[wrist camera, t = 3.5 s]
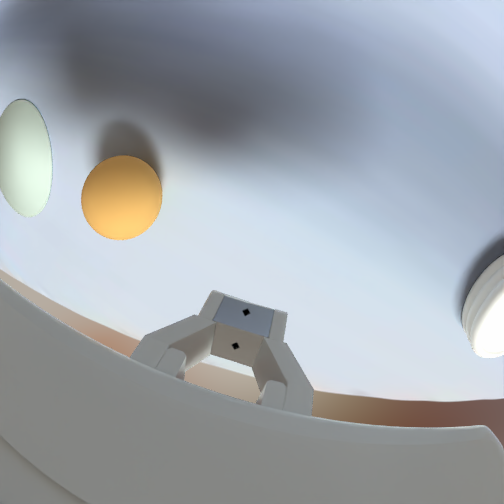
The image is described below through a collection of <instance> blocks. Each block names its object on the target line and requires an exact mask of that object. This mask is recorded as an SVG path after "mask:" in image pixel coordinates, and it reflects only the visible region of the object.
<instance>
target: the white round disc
mask: <svg viewBox="0 0 504 504" xmlns="http://www.w3.org/2000/svg"><path fill="white" fill-rule="evenodd" d="M462 324H463V329H464V332H465V333H466V335H467V338H468V340H469V342H470V343H471V346H472V349H473V351H474V352H475V353H476V354H477V355H478V356H481V357H484V358H493V357H498V356H501V355H504V255H502V256H500V257H499V258H497V259H496V260H495V261H494V262H492V263H491V264H490V265H489V266H488V267H487V268H486V269H485V270H484V271H483V273H482V274H481V275H480V276H479V278H478V279H477V280H476V282H475V283H474V285H473V287H472V288H471V290H470V292H469V294H468V296H467V298H466V301H465V304H464V307H463V312H462Z"/></svg>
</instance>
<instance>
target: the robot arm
mask: <svg viewBox="0 0 504 504" xmlns="http://www.w3.org/2000/svg"><path fill="white" fill-rule="evenodd" d="M287 315H288V314H287V312H283V311H280V310H276V309H275V310H274V309H271V308H268V307H264V306H261V305H258V304H254V303H251V302H248V301H245V300H242V299H239V298H236V297H233V296H230V295H227V294H224V293H221V292H218V291H215V290H213V291H212V292H211V293H210V295H209V297H208V299H207V300H206V302H205V304H204V306H203V308H202V310H201V311H200V313H199V315H198V316H197V315H192V316H190V317H188V318H185V319H183V320H181V321H178V322H176V323H174V324H171V325H169V326H166V327H164V328H162V329H159V330H157V331H154V332H152V333H150V334H147V335H145V336H144V337H143V339H142V340H141V342H140V343H139V345H138V346H137V348H136V349H135V351H134V352H133V353H132V355H131V357H130V358H129V357H127V356H125V355H123V354H121V353H119V352H117V351H114V350H113V349H111V348H109V347H107V346H105V345H103V344H101V343H99V342H97V341H95V340H93V339H92V338H90V337H88V336H86V335H84V334H82V333H81V332H79V331H77V330H75V329H74V328H72V327H70V326H68V325H67V324H65V323H64V322H62V321H60V320H59V319H57V318H55V317H54V316H52V315H51V314H49V313H47V312H46V311H44V310H43V309H41V308H40V307H38V306H37V305H35V304H34V303H32V302H31V301H29V300H28V299H27V298H25V297H24V296H22V295H21V294H20V293H18V292H17V291H15V290H14V289H13V288H12V287H10V286H9V285H8V284H6V283H5V282H4V281H2V280H1V279H0V504H504V449H503V446H502V445H501V443H500V441H499V440H498V439H497V437H496V436H495V435H494V434H493V433H492V431H491V430H490V429H489V428H488V427H487V426H484V425H477V426H466V427H445V428H414V427H413V428H412V427H392V426H379V425H368V424H358V423H351V422H343V421H336V420H330V419H324V418H318V417H312V416H311V415H312V404H313V392H314V389H313V387H312V386H311V384H310V382H309V381H308V379H307V377H306V375H305V374H304V372H303V370H302V369H301V367H300V365H299V363H298V362H297V360H296V358H295V357H294V355H293V353H292V351H291V350H290V348H289V346H288V345H287V343H284V342H283V340H284V334H285V328H286V322H287ZM210 354H211V355H215V356H218V357H221V358H225V359H228V360H231V361H234V362H237V363H240V364H243V365H246V366H250V367H252V370H253V372H254V375H255V378H256V381H257V383H258V386H259V389H260V392H261V394H260V396H259V398H258V400H257V402H256V404H255V403H251V402H247V401H244V400H241V399H237V398H234V397H231V396H227V395H224V394H221V393H218V392H215V391H212V390H209V389H206V388H203V387H200V386H197V385H194V384H192V383H189V382H186V381H184V376H185V375H184V374H185V371H187V370H188V369H190V368H191V367H193V366H194V365H196V364H197V363H199V362H200V361H202V360H204V359H205V358H207V357H208V356H210Z"/></svg>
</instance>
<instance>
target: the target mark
mask: <svg viewBox="0 0 504 504" xmlns="http://www.w3.org/2000/svg"><path fill="white" fill-rule="evenodd" d="M52 172H53V166H52V151H51V145H50V140H49V135H48V131H47V128H46V125H45V123H44V120H43V118H42V116H41V114H40V112H39V111H38V109H37V108H36V107H35V106H34V105H33V104H32V103H31V102H29V101H27V100H16V101H14V102H12V103H11V104H10V105H8V107H7V108H6V109H5V110H4V112H3V113H2V115H1V117H0V188H1V191H2V193H3V195H4V197H5V199H6V200H7V202H8V203H9V205H10V206H11V207H12V208H13V209H14V210H15V211H16V212H17V213H18V214H20V215H22V216H24V217H34V216H36V215H38V214H39V213H40V212H41V211H42V210H43V209H44V207H45V206H46V203H47V201H48V199H49V195H50V191H51V186H52Z"/></svg>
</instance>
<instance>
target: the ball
mask: <svg viewBox="0 0 504 504" xmlns="http://www.w3.org/2000/svg"><path fill="white" fill-rule="evenodd" d="M81 204H82V210H83V213H84V216H85V218H86V220H87V222H88V223H89V225H90V226H91V227H92V228H93V229H94V230H95V231H96V232H97V233H99V234H100V235H102V236H104V237H106V238H109V239H114V240H126V239H131V238H134V237H136V236H138V235H140V234H142V233H143V232H145V231H146V230H147V229H148V228H149V227H150V226H151V225H152V224H153V222H154V221H155V219H156V218H157V216H158V214H159V211H160V208H161V204H162V188H161V183H160V181H159V178H158V176H157V174H156V173H155V171H154V170H153V169H152V167H151V166H150V165H148V164H147V163H146V162H144V161H143V160H141V159H139V158H136V157H133V156H128V155H119V156H114V157H111V158H108V159H106V160H104V161H102V162H101V163H99V164H98V165H97V166H96V167H95V168H94V169H93V170H92V171H91V172H90V174H89V175H88V177H87V179H86V181H85V183H84V186H83V189H82V196H81Z"/></svg>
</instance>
